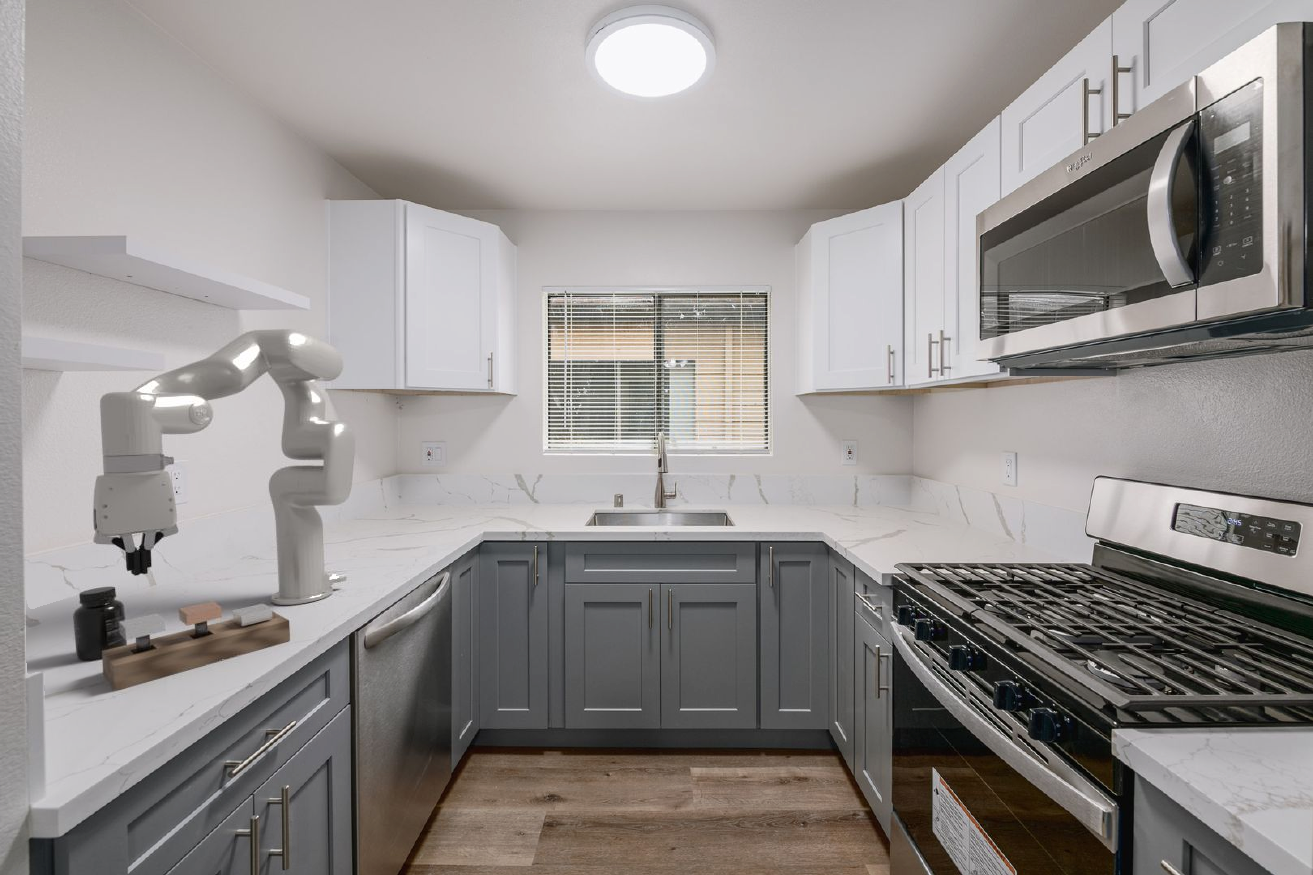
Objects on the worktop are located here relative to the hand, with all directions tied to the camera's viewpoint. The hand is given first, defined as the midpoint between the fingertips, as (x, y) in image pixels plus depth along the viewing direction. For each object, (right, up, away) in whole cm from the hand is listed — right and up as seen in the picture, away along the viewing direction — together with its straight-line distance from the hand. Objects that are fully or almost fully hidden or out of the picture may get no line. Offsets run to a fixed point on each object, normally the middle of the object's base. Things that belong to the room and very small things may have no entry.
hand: (139, 573), depth 98 cm
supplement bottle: (-15, -17, +9) cm, 25 cm away
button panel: (+5, -17, +7) cm, 19 cm away
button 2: (+10, -16, +13) cm, 23 cm away
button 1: (0, -14, +1) cm, 14 cm away
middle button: (+5, -14, +7) cm, 16 cm away
